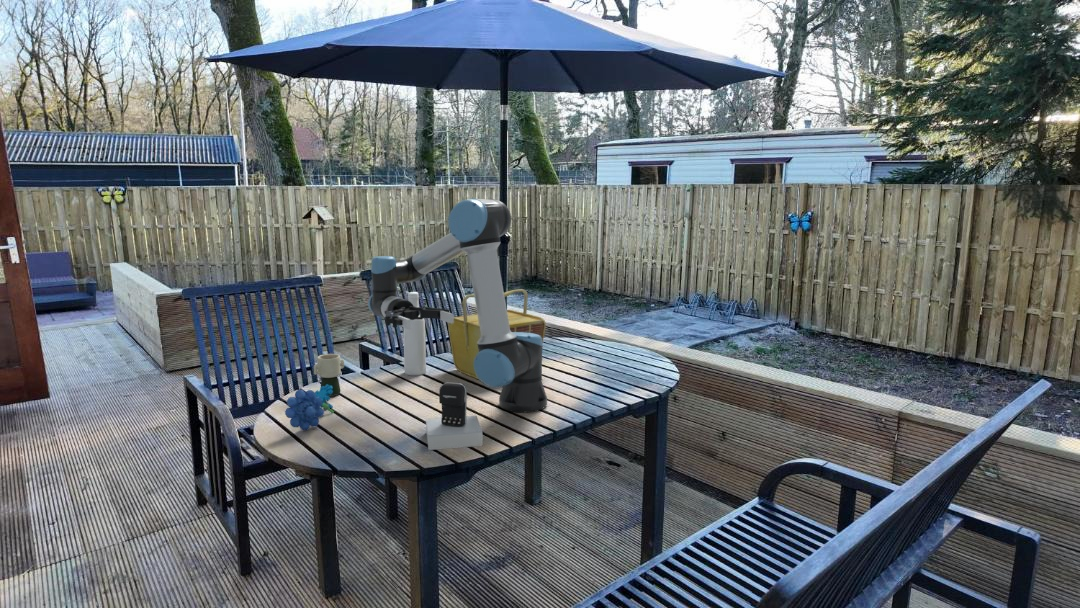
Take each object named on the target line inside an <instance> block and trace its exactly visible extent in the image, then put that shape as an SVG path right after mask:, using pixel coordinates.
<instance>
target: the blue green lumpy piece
mask: <svg viewBox="0 0 1080 608" xmlns="http://www.w3.org/2000/svg"><path fill="white" fill-rule="evenodd" d="M332 388H333V387H332V386H331V385H330V386H329V385H328V384H326V386H325V387H324V386H322V387H321V386H320V388H319V390H318V389H317V390H316V391H314V392H315V395H316V397H320V398H321V399H322V402H323V404H322V405H321V406H320V407H321V408H322V409H323V410H324V412H325V411H328V412H329V413H331V414H334V412H335V411H334V410H333V408H334V405H332V404H331V403H329V400H330V399H331V397H330V396H328V394H330V395H331V394H332V393H333V391H332ZM330 408H332V409H330Z"/></svg>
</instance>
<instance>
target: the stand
mask: <svg viewBox="0 0 1080 608" xmlns="http://www.w3.org/2000/svg"><path fill="white" fill-rule="evenodd" d="M441 420H442V417H438V418H437V417H436V418H426V419H425V430H426V431H425V432H426V433H425V434H426V441H427V448H428V451H431V450H433V451H434V450H444V449H457V448H458V449H459V448H468V447H469V448H472V447H482V446H483V430H482V427H481V423H480V421H479V418H478V416H477V415H469V416H468V415H466V424H465V425H463V426H461V427H456V426H448V425H443V424H442V421H441Z"/></svg>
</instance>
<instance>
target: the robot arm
mask: <svg viewBox="0 0 1080 608" xmlns="http://www.w3.org/2000/svg"><path fill="white" fill-rule="evenodd" d="M511 222H512V215H511V211H510V209H509V208H508V206H507V205H506V204H505V203H504V202H502V201H500V200H498V199H493V198H468V199H463V200H461V201H459V202H457V203H456V204H455V205H454V206H453V208H452V209H451V211H450V212H449V215H448V228H449V231H450V232H449V233H448V234H446V235H445V236H443V237H441V238H439V239H437V240H436V241H434V242H433V243H432V242H431V244H429V245H428V246H426V247H424V248H423V249H421V250H419V251H418V252H416V253H414V254H413V255H410V256H409V257H407V258H406V259H402V260H397V259H396V257H394V256H389V255H381V256H380V255H379V256H374V257H373V258H371V269H370V271H371V289H372V290H371V295H370V296H369V298H368V300H367V307H368V310H369V311H370V312H371V313H372V314H374V315H375V316H376V317H379V318H383V319H384V320H385V326H387V327H388V326H390V325H391V324H392V328H393V329H395V328H397V327H398V326H399V327H400V328H406V329H411V325H410V321H411V320H414V319H423V318H424V319H434V320H435V319H439V320H440V321H443V322H445V323H447V324H448V323H451V324H452V323H454V317H455V314H454V313H451V312H450V309H449V308H445V307H443V308H439V307H438V308H437V307H430V306H429V307H428V306H424V305H423V306H422V307H415V306H413V304H412V303H411V302H410V301H408V299H404V298H401V297H399V296H398V297H397V288H398V287H397V285H400V284H405V283H410V282H412V283H413V282H417V281H420V280H423V279H424V278H425V277H426V275H427V274H428V273H430V272H432V271H434V270H436V269H437V268H439V267H441V266H443V265H444V264H447V263H449V262H450V261H452V260H453V259H455V258H457V257H459V256H460V255H462V254H463V253H465V254H466V257H467V262H468V263H467V264H468V268H469V273H470V280H471V285H472V289H473V290H472V292H473V294H474V297H473V298H474V302H475V307H476V314H478V320H479V325H480V331H481V337H480V339H479V340H478V342H477V345H478V350H479V353H478V354H477V355H476V358H475V359H474V370H475V373H476V375H477V377H478V378H479V379H478V380H479V381H481V382H482V383H483V384H484V385H486V386H488V387H490V388H491V387H492V388H501V387H502V388H501V392H500V394H499V396H498V397H499V398H498V406H499V407H500V409H501V408H502V409H503V410H506V411H509V412H512V413H513V412H514V413H531V412H532V411H533V412H537V410H538V411H540V410H539V409H541V410H543V409H544V408H543V407H545V406H546V405H548V397H547V393H546V389H545V387H544V384H543V377H542V376H543V375H542V373H543V345H544V344H542V338H541V336H540V335H538V334H533V333H525V332H511V331H510V326H509V320H508V314H507V310H508V309H507V304H506V303H507V302H506V297H504V293H505V292H504V286H503V280H502V275H501V270H500V269H501V268H500V263H499V257H498V251H497V250H498V248H499V246H500V244H501V237H502V236H504V235H505V234H506V233H507V232H508V231H509V229H510V227H511ZM419 315H420V317H418V316H419ZM546 407H547V406H546ZM546 407H545V408H546ZM542 408H543V409H542Z"/></svg>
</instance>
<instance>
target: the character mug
mask: <svg viewBox="0 0 1080 608" xmlns="http://www.w3.org/2000/svg"><path fill="white" fill-rule="evenodd" d="M316 359H317V363H316V364H314V365H313V374H314V375H318V376H319V377H320V378H321V379H320V380H321V381H320V382H321V383H320V388H321V387H322V386H324V387H325V386H326V384H328V385H329V386H330V385H331V386H332V387H333V388H332V391H333V393H332V394H331V395H330V394H328V396H329V397H330V396H331V397H332V396H337V395H339V394H340V393H341V386H340V381H339V376H340V375H341V373H342V371H341V369H344V368H345V360H344V358H341V355H340V354H338V353H326V354H320V355H318V356H317V358H316Z"/></svg>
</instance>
